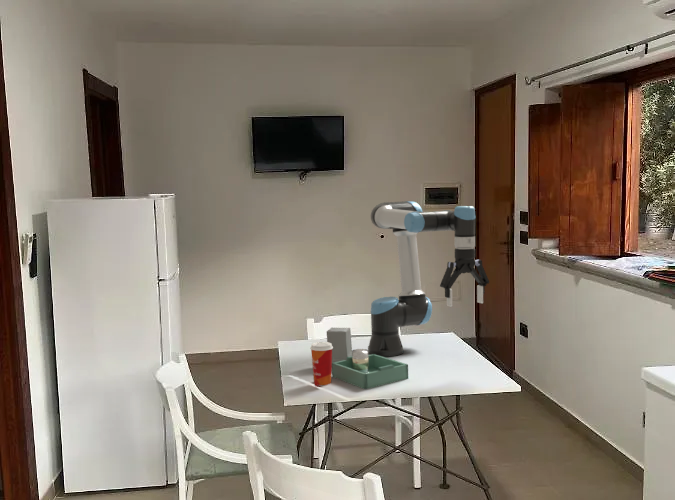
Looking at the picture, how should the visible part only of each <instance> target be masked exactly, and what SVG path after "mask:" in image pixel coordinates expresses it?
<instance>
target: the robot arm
mask: <svg viewBox="0 0 675 500" xmlns="http://www.w3.org/2000/svg"><path fill="white" fill-rule="evenodd" d="M475 210H476V208H475V207H474V206H473V205H469V206H467V205H458V206H455V207H454V210H451V209H450V210H449V209H448V210H446V209H445V210H441V211H440V210H439V211H436V210H435V211H423V209H422V207H421V206H420V204H419V203H417V202H416V201H408V200H407V201H406V200H404V201H386V202H381V203H379V204H377V205H375V206H374V207H373V208H372V209H371V212H370V220H371V223H372V224H373V225H374V227H376V228H378V229H383V230H392V234H393V235H394V236H395V237H396V245H397V256H398V265H399V274H400V275H399V277H400V287H401V292H400V293H399V294H398V297H396V296H384V297H380V298H376V299H374V300H373V301H372V302H371V306H370V320H371V321H370V324H371V326H370V328H371V336H370V339H369V344H368V346H367V350H368V355H372V354H375V355H379V356H382V357H385V358H389V357H394V356H400V355H402V354H404V346H403V344H402V340H401V338H400V333H399V329H400V328H402V327H411V326H421V325H425V324H427V323H428V322H429V321H430V319H431V317H432V314H433V304H432V302H431V299H430V298H429V297H427V296H426V292H424V290H423V289H422V285H421V284H422V283H421V281H422V280H421V271H420V270H421V269H420V259H419V250H418V239H417V235H418V233H425V232H445V231H447V232H448V231H453V232H454V242H453V243H454V244H453V245H454V247H455V248H454V260H455V261H454V262H453V261H447V264H446V265H447V266H446V267H447V268H446V269H445V272H444V274H443V276H442V280H441V282H440V284H439V287H441V288H443V289H444V298H446V306H447V307H449V308H451V307H453V289H452V287H453V285H454V283H456V281H457V279H458V278H459V276H460V275H461V274H471V276H472V277H473V278H474V280H475V281H476V282H477V283H478V285H477V286H476V295H477V296H476V299H477V300H476V303H479V304H484V295H485V294H486V293H485V287H486V286H487V285H488V284H489V283H490V280H489V278H488V276H487V273H486V271H485V269H484V266H483V260H482V259H475V258H476V249H475V247H476V211H475ZM475 266H476V268H475Z"/></svg>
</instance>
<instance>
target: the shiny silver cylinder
mask: <svg viewBox="0 0 675 500" xmlns="http://www.w3.org/2000/svg"><path fill="white" fill-rule="evenodd" d="M368 355H369V353H368V349H366V348H355V349H352V368H353V369H354V370H357V371H360V372H363V373H369V357H368Z"/></svg>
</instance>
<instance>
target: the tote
mask: <svg viewBox="0 0 675 500" xmlns="http://www.w3.org/2000/svg"><path fill="white" fill-rule="evenodd" d="M368 357H369V373H363V372H360V371H357V370H354V369H353V368H352V356H350V357H347V360H343V361H339V362H334V363H332V371H331V378H334V379H337V380H339V381H343V382H345V383H348V384H350V385H353V386H356V387H358V388H360V389H363V390H368V389H372V388H376V387H381V386H384V385H388V384H391V383H395V382H400V381H405V380H409V364H408V363H405V362H402V361H399V360H395V359H392V358H389V357H382V356H379V355H375V354H372V355H370V354H368Z"/></svg>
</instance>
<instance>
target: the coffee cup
mask: <svg viewBox="0 0 675 500" xmlns="http://www.w3.org/2000/svg"><path fill="white" fill-rule="evenodd" d="M310 345H311V346H310V348H309V349H310V351H311V363H312V373H313V374H312V375H313V382H314V384H313V385H314V386H315V387H317V388H322V386H327V385H330V384H332V349H333V346H332V344H331V343H329V342H327V341H324V342H323V341H319V342H317V341H316V342H313V343H311V344H310Z"/></svg>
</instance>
